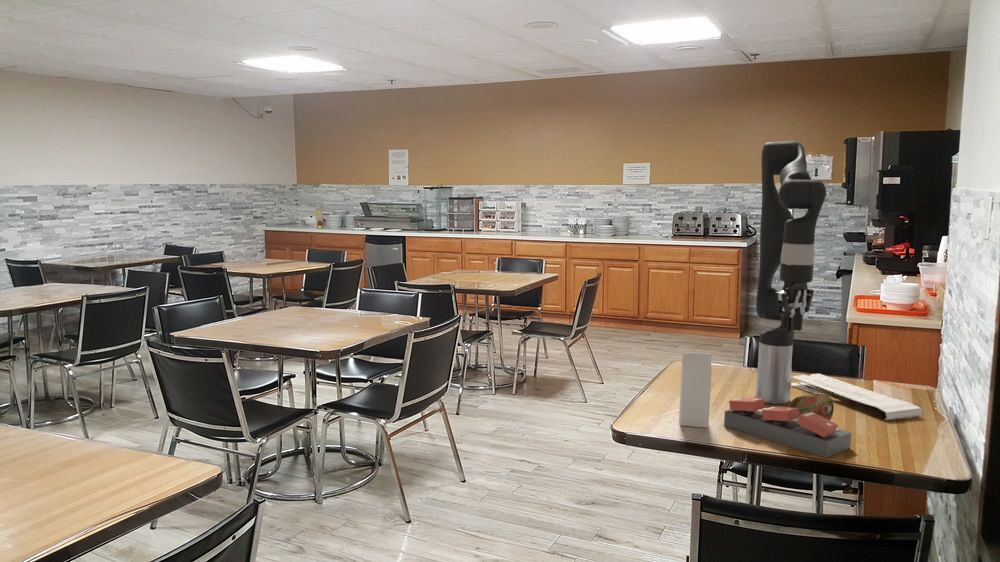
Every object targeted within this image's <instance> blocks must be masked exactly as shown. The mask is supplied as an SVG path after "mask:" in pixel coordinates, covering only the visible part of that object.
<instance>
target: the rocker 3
mask: <svg viewBox="0 0 1000 562" xmlns="http://www.w3.org/2000/svg"><path fill="white" fill-rule="evenodd" d="M797 424H799V425H801V426H803V427H804V428H806V429H808V430H810V431H812V432H814V433H816V434H818V435H820V436H822V437H827V436H830V435H832V434H835V432H836V429H837V428H838V425H839V424H838V423H836V422H833V421H832V420H831V419H830V420H828V419H826V418H824V417H822V416H820V415H818V414H815V413H813V412H811V411H810V412H807V413H804V414H801V415H800V416H799V420H798V423H797Z"/></svg>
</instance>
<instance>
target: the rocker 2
mask: <svg viewBox="0 0 1000 562" xmlns="http://www.w3.org/2000/svg"><path fill="white" fill-rule="evenodd" d="M766 408H767V409H763V410H762V417H763V420H777V421H791V420H794V419H797V418H799V410H798V408H791V407H789V406H788V407H787V406H786V407H785V406H771V407H766Z"/></svg>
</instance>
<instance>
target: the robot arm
mask: <svg viewBox="0 0 1000 562" xmlns="http://www.w3.org/2000/svg"><path fill="white" fill-rule="evenodd" d="M760 160H761V164H760V165H761V213H760V215H761V216H760V228H759V229H760V231H759V247H760V248H759V269H758V270H759V271H758V280H757V281H758V282H757V290H756V301H755V309H756V310H755V311H756V315H757V316H758V318H760V319H765V320H770V321H771V320H772V321H777V322H778V321H780V325H779V326H778V327H776V328H773V329H772V328H771V329H768V330H763V331H762V332H760V334H759V342H758V359H757V361H758V362H757V372H756V387H755V398H761V399H764V403H765V404H770V405H771V404H772V405H784V404H785V405H786V404H788V403H789V402H790V400H791V388H792V386H791V383H792V378H791V377H793V374H792V373H793V369H792V361H793V360H792V359H793V347H794V336H795V331H798V332H799V331H802V330H803V322H804V321H803V320H804V319H803V318H804V316H805V315H806V313H809V311H810V307H811V304H812V301H813V296H814V293H815V291H814V289H812V288H808V283H811V282H812V281H813V277H814V276H813V275H814V264H815V263H814V261H815V237H816V236H815V235H816V227H817V223H818V222H817V221H818V220H819V215H820V213H821V209H822V207H823V206H824V205H823V204H824V202H825V201H826V200H825V199H826V196H827V188H826V186H825V184H824V182H822V181H821V180H818V179H812V178H811V176H810V173H809V172H808V166H807V159H806V152H805V148H804V146H803V144H802V143H801V142H798V141H796V140H795V141H793V140H791V141H768V142H766V143H764V144H763V146H762V149H761V159H760ZM775 176H779V183H780V187H779V190H778V189H777V186H776V183H775V178H774V177H775ZM792 209H793V210H807V211H806V212H805V214H804V215H802V216H800V217H795V218H794V217H793V215H792V212H791V211H790V210H792ZM778 269H779V280H780V281H781V282H783V287H782V288H772V287H773V286H772V285H773V280H774V276H775V274H776V272H777V270H778Z"/></svg>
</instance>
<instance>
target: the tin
mask: <svg viewBox="0 0 1000 562" xmlns="http://www.w3.org/2000/svg"><path fill="white" fill-rule="evenodd" d="M828 395H829V394H828ZM828 395H825V394H818V393H817V394H812V393H810V394H807V395H802V396H801V395H800V396H797V397H795V398H793V399H792V400H791V401H790V403H789V404H788V407H791V408H798V410H799V416H800V415H801V414H804V413H807V412H810V411H811V412H813V413H815V414H818V415H820V416H822V417H824V418H826V419H828V420H830V421H831V419H832V417H833V414H834V407H835V406H834V401H832V399H831V398H830V397H829V396H828Z"/></svg>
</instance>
